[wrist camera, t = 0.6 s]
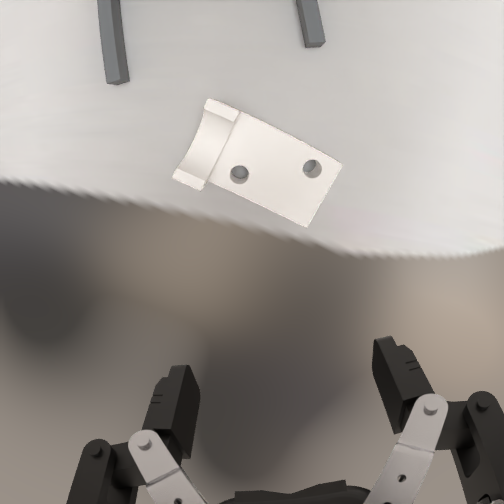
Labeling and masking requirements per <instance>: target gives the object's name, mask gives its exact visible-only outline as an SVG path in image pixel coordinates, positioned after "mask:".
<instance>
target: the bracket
mask: <svg viewBox="0 0 504 504" xmlns="http://www.w3.org/2000/svg"><path fill="white" fill-rule="evenodd" d="M203 109H204V115H203V118H202V121H201V124H200V126H199V129H198V131H197V133H196V136H195V138H194V140H193V142H192V144H191V146H190V148H189V150H188V152H187V153H186V155H185V157H184V158H183V160H182V162H181V163H180V164H179V166H178V167H177V168H176V170H175V172H174V174H173V177H172V179H175V180H177V181H179V182H181V183H183V184H186V185H188V186H190V187H192V188H194V189H197V190H199V191H201V190H202V189H203V187H204V186H205V184H206V183H207V182H208V181H209V182H211V183H213V184H216V185H218V186H220V187H222V188H224V189H226V190H229V191H231V192H233V193H235V194H237V195H239V196H241V197H243V198H246V199H248V200H250V201H252V202H254V203H256V204H258V205H260V206H262V207H264V208H266V209H268V210H271V211H273V212H275V213H277V214H279V215H281V216H283V217H285V218H287V219H289V220H291V221H293V222H295V223H297V224H299V225H301V226H303V227H305V228H307V227H308V225H309V223H310V222H311V220H312V218H313V217H314V215H315V213H316V211H317V210H318V208H319V206H320V205H321V203H322V201H323V199H324V198H325V196H326V194H327V192H328V191H329V189H330V187H331V185H332V184H333V182H334V180H335V178H336V177H337V175H338V173H339V171H340V170H341V168H342V166H343V164H341V163H340V162H338V161H336V160H335V159H333V158H331V157H330V156H328V155H326V154H324V153H323V152H321V151H319V150H317V149H315V148H313V147H312V146H310V145H308V144H306V143H304V142H302V141H301V140H299V139H297V138H295V137H293V136H291V135H289V134H287V133H285V132H283V131H281V130H279V129H277V128H275V127H273V126H271V125H269V124H267V123H265V122H263V121H261V120H259V119H257V118H255V117H253V116H251V115H248V114H246V113H244V112H242V111H240V110H238V109H235V108H233V107H231V106H229V105H227V104H224V103H222V102H220V101H217V100H214V99H211V98H208V100H207V102H206V104H205V106H204V108H203ZM308 160H315V162H316V165H315V168H314V169H313V170H312V171H310V172H304V171H303V166H304V164H305V162H307V161H308ZM238 165H241V166H244V167H245V168H247V170H248V172H249V174H248V176H247V177H245V178H242V179H239V178H236V177H235V176H234V175H233V173H232V168H233V167H235V166H238Z"/></svg>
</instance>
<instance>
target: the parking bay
mask: <svg viewBox="0 0 504 504" xmlns="http://www.w3.org/2000/svg"><path fill="white" fill-rule="evenodd" d="M296 1H297V6H298V11H299V16H300V20H301V25H302V31H303V36H304V41H305V47H306V48H310V47H321V46H322V45H323V44H324V43H325V42H326V41H325V36H324V31H323V26H322V21H321V16H320V11H319V7H318V2H317V0H296ZM97 3H98V15H99V26H100V36H101V45H102V53H103V61H104V68H105V75H106V82H107V84H113V85H119V84H122V83H125V82H128V81H130V80H129V74H128V67H127V60H126V53H125V46H124V38H123V30H122V22H121V12H120V2H119V0H97Z"/></svg>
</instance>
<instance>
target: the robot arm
mask: <svg viewBox="0 0 504 504" xmlns="http://www.w3.org/2000/svg"><path fill="white" fill-rule="evenodd" d="M372 371H373V376H374V379H375V382H376V384H377V387H378V390H379V393H380V395H381V398H382V401H383V404H384V407H385V409H386V412H387V415H388V418H389V421H390V423H391V427H392V430H393V433H394V434H397V433H401V432H402V435H401V437H400V439H399V441H398V443H396V445H395V447H394V449H393V451H392V453H391V455H390V457H389V459H388V461H387V463H386V465H385V467H384V469H383V470H382V472H381V474H380V476H379V478H378V480H377V481H376V483H375V485H374V487H373V488H372V490H371V491H370V490H368V489H365V488H362V487H357V486H346V481H345V480H341V481H335V482H329V483H323V484H318V485H315V486H313V487H310V488H307V489H304V490H301V491H298V492H295V493H292V494H284V493H277V492H269V491H262V490H260V491H236V492H235V498H232V499H229V500H226V501H224V502H222V503H219V504H413V502H414V500H415V498H416V496H417V493H418V491H419V489H420V487H421V484H422V482H423V480H424V478H425V475H426V473H427V471H428V468H429V466H430V463H431V461H432V458H433V455H434V450H449V449H450V450H451V453H452V455H453V458H454V461H455V465H456V468H457V471H458V474H459V477H460V480H461V484H462V487H463V491H464V494H465V498H466V501H467V504H504V413H503V411H502V409H501V407H500V405H499V403H498V401H497V400H496V398H495V397H494V396H493V395H492V394H490V393H489V392H485V391H479V392H475V393H473V394H472V395H471V396H470V397H469V399H468V401H460V402H459V401H458V402H449V401H446V400H445V399H444V398H443V397H441V396H440V395H437V394H435V393H434V391H433V389H432V387H431V385H430V384H429V382H428V380H427V378H426V376H425V374H424V372H423V370H422V368H421V367H420V365H419V363H418V361H417V359H416V357H415V355H414V353H413V352H412V350H410V349H409V348H407V347H406V346H405V345H400V346H397V345H396V343H395V341H394V339H393V338H392V336H387V337H383V338H378V339H375V340H374V345H373V359H372ZM199 405H200V389H199V386H198V384H197V382H196V379H195V377H194V375H193V372H192V370H191V367H190V366H189V365H178V366H172V367H171V369H170V372H169V376H168V377H163V378H162V379H161V380H160V381H159V382H158V384H157V385H156V386H155V389H154V392H153V397H152V398H151V404H150V405H149V408H148V411H147V414H146V417H145V421H144V424H143V427H142V430H141V431H139V432H137V433H135V434H134V435H133V436H132V437H131V438H130V440H129V442H126V443H121V444H116V445H110V444H109V443H108V442H107V441H105V440H103V439H96V440H92V441H90V442H89V443H88V444H87V445H86V446H85V447H84V449H83V452H82V455H81V458H80V461H79V464H78V467H77V470H76V473H75V477H74V480H73V483H72V486H71V490H70V493H69V496H68V500H67V503H66V504H135V503H136V497H137V492H138V486H140V485H146V484H147V485H146V488H147V490H148V492H149V493H150V495H151V497H152V499H153V500H154V502H155V504H209V503H208V502H207V501H206V499H205V498H204V497H203V496H202V495H201V493H200V492H199V491H198V489H197V488H196V487H195V485H194V484H193V483H192V481H191V480H190V479H189V477H188V476H187V474H186V473H185V471H184V470H183V469H182V467H181V461H182V459H190V458H191V451H192V446H193V440H194V434H195V428H196V422H197V416H198V410H199Z"/></svg>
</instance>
